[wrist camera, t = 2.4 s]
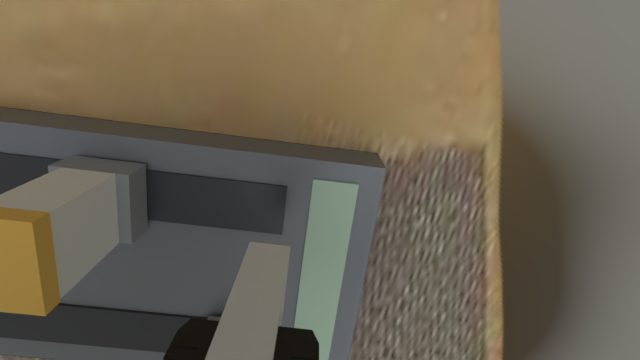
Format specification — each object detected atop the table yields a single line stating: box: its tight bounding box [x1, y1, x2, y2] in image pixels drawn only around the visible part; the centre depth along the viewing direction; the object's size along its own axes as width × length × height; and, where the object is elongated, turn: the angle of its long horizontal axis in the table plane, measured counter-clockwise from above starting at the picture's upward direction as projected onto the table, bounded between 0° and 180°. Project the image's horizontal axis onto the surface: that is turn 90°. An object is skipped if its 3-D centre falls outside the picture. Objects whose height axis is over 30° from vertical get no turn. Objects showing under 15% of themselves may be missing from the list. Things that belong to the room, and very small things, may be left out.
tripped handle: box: [0, 155, 148, 316], centre depth 16 cm, size 4×4×7 cm
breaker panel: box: [0, 107, 386, 360], centre depth 19 cm, size 28×15×10 cm, turn 83°
